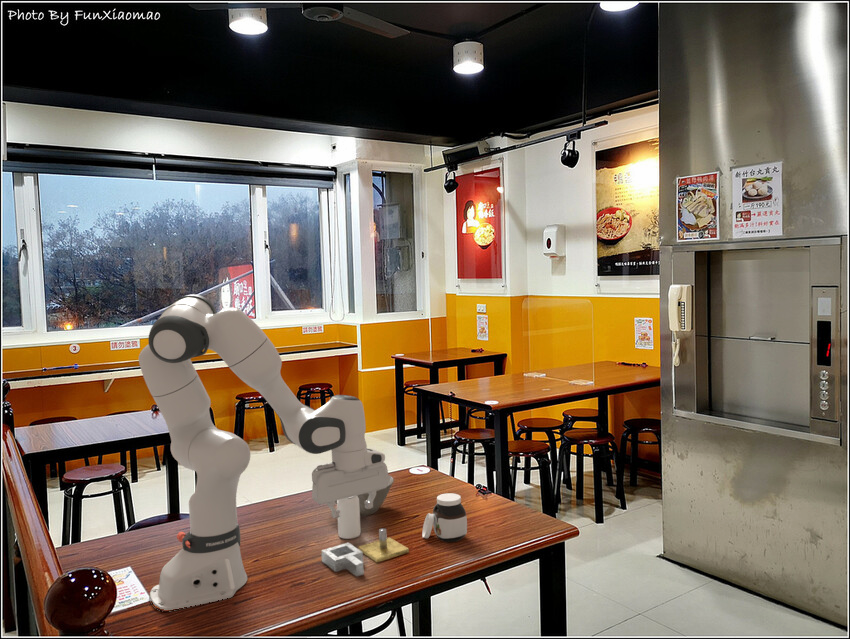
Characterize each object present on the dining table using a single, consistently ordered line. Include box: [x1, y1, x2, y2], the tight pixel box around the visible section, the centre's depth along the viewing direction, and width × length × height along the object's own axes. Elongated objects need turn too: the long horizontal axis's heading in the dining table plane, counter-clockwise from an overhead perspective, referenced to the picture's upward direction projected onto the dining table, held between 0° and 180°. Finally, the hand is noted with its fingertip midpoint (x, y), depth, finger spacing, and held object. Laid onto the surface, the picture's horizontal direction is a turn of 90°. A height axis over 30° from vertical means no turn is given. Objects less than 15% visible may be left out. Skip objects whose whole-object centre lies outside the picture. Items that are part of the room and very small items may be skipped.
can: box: [336, 495, 361, 540], centre depth 184 cm, size 6×6×12 cm
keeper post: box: [357, 527, 410, 563], centre depth 172 cm, size 10×10×6 cm
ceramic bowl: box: [335, 474, 395, 517], centre depth 203 cm, size 22×23×10 cm
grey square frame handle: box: [320, 542, 365, 578], centre depth 164 cm, size 14×8×3 cm, turn 34°
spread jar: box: [421, 492, 468, 543], centre depth 179 cm, size 12×11×12 cm
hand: (352, 512), depth 159 cm, fingers open, 8 cm apart
